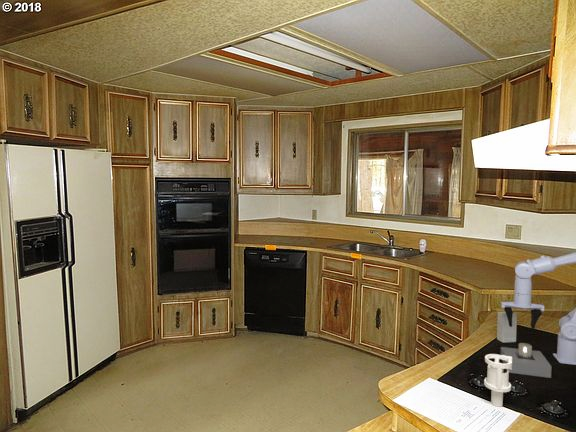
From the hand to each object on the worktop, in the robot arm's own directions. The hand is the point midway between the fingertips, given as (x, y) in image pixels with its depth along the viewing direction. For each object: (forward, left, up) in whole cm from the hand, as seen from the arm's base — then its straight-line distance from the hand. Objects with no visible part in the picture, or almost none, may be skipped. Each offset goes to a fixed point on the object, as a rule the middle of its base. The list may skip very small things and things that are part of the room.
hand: (521, 327), depth 154 cm
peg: (+2, +14, -9) cm, 17 cm away
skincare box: (+3, -11, -10) cm, 15 cm away
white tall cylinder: (+16, +44, -10) cm, 48 cm away
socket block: (+2, +14, -10) cm, 18 cm away
